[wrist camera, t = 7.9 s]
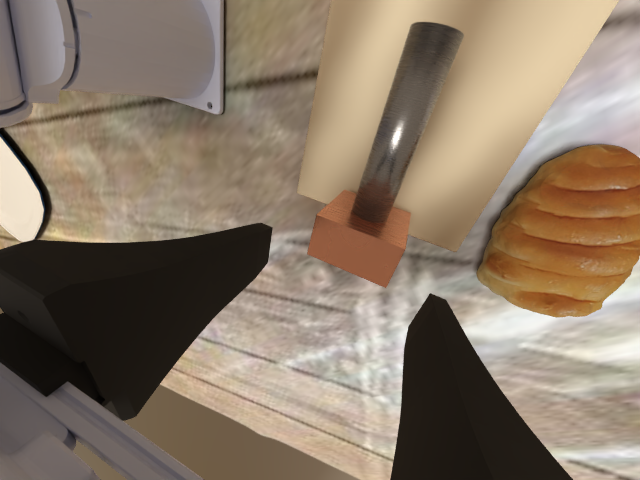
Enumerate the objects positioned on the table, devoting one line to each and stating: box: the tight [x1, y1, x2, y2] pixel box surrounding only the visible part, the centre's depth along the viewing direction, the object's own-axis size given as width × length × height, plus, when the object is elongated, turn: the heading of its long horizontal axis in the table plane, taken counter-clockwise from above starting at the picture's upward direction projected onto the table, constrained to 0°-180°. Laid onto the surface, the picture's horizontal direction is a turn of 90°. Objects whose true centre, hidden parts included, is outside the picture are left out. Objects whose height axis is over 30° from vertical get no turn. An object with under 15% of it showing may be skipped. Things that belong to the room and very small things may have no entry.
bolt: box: [307, 22, 464, 288], centre depth 12 cm, size 4×10×5 cm, turn 167°
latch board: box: [297, 0, 619, 252], centre depth 10 cm, size 12×18×8 cm
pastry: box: [477, 144, 640, 317], centre depth 13 cm, size 9×7×4 cm
